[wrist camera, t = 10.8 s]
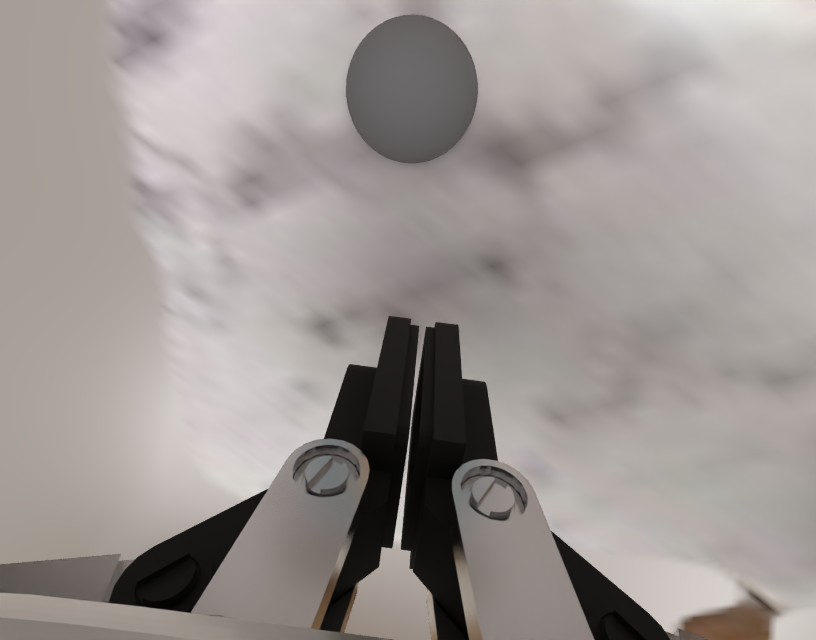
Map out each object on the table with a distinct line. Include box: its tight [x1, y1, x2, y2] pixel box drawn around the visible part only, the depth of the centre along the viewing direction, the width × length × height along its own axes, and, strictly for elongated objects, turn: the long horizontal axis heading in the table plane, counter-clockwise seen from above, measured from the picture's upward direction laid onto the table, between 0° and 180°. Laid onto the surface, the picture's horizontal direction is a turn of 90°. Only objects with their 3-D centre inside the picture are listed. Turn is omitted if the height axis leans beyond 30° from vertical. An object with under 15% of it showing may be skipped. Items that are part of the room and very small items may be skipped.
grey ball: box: [346, 15, 478, 163], centre depth 19 cm, size 6×6×6 cm
